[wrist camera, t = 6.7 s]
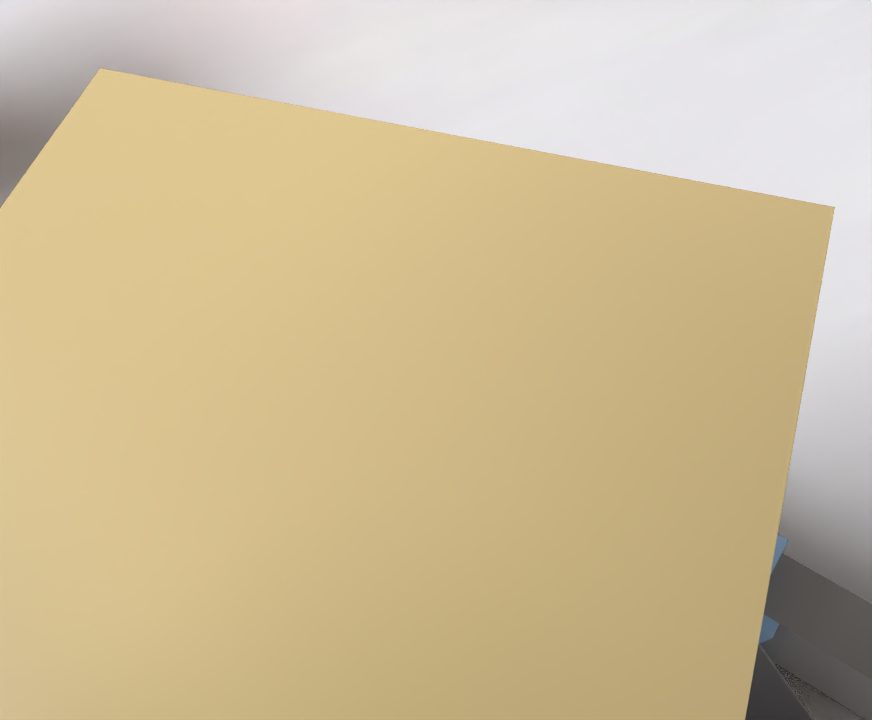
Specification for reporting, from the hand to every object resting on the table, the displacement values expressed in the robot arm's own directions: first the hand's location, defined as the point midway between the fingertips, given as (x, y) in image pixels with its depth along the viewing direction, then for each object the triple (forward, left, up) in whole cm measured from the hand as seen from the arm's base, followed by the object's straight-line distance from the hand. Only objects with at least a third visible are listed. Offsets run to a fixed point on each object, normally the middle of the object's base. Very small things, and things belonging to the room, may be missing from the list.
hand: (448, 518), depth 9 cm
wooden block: (-1, 0, -7) cm, 7 cm away
